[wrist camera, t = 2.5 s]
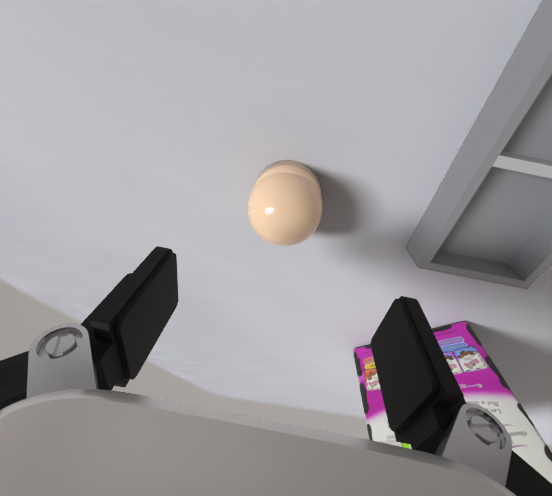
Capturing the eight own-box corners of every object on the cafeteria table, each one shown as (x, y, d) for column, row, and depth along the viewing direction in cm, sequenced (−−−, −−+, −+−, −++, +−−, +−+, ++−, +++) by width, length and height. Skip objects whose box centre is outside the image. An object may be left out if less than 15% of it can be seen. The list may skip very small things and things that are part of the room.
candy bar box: (367, 371, 31) (416, 612, 17) (351, 347, 28) (393, 601, 15) (476, 349, 27) (650, 635, 13) (467, 318, 25) (667, 625, 11)
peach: (259, 153, 18) (245, 179, 14) (328, 167, 18) (335, 197, 14) (251, 215, 21) (237, 252, 17) (311, 227, 21) (312, 267, 17)
